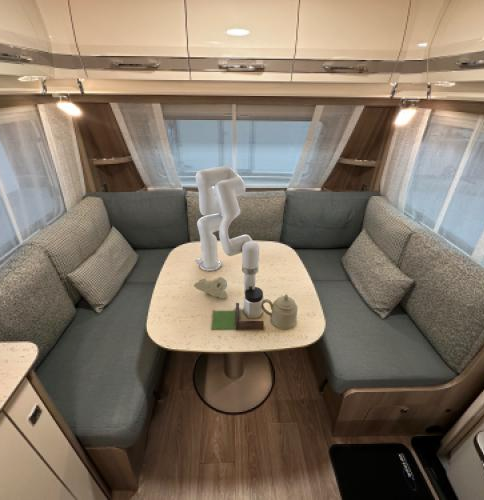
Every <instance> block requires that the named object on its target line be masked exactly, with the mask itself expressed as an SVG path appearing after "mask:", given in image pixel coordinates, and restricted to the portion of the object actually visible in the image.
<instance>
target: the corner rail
mask: <svg viewBox="0 0 484 500" xmlns="http://www.w3.org/2000/svg"><path fill="white" fill-rule="evenodd" d="M264 326H265V321H264V320H240V303H239V302H235V331H263V330H264V329H265V328H264Z"/></svg>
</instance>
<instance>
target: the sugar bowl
mask: <svg viewBox="0 0 484 500" xmlns="http://www.w3.org/2000/svg"><path fill="white" fill-rule="evenodd" d="M265 303H267V304H269V306H270V310H271V312H270V311H268V310H267V308H266V307H265ZM261 307H262V309H263V312H264V314H266V315H267V316H268V317H270V319H271V323H272V325H273V326H274V327H276V328H278V329H280V330H290V329H292V328H293V327H294V326H295V325H296V321H297V317H298V309H299V308H298V307H299V306H298V305H297V303H296V301H295V299H293V298H292V297H289V295H288V294H285V295H282V296H279V297H278V298H276V299H275V300H273V302H272V300H271V299H268V298H265V299H264V300H263V301H262V304H261Z"/></svg>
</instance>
